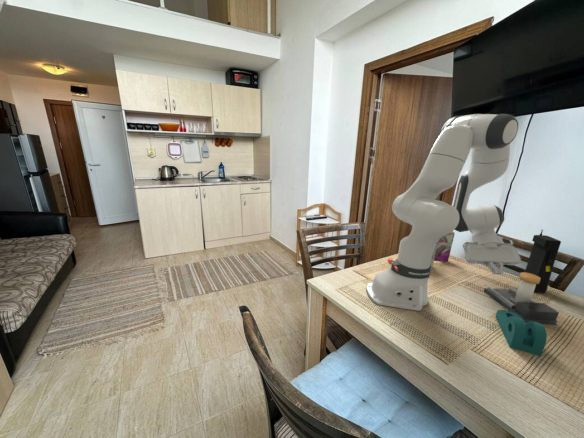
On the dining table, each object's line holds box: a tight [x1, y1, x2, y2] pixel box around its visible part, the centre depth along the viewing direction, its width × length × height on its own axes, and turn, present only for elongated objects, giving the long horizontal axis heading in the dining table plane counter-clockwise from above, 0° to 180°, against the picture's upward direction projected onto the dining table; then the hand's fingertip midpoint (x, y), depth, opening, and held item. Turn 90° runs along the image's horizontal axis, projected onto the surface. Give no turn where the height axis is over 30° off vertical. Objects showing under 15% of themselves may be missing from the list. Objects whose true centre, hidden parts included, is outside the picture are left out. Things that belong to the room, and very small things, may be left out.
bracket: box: [495, 309, 548, 357], centre depth 75 cm, size 18×7×8 cm, turn 153°
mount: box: [483, 286, 560, 326], centre depth 88 cm, size 19×10×5 cm, turn 177°
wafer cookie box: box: [434, 230, 455, 263], centre depth 125 cm, size 11×5×16 cm, turn 77°
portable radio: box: [519, 229, 562, 294], centre depth 98 cm, size 8×6×25 cm
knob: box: [508, 271, 541, 306], centre depth 85 cm, size 5×5×12 cm
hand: (498, 274), depth 97 cm, fingers closed
